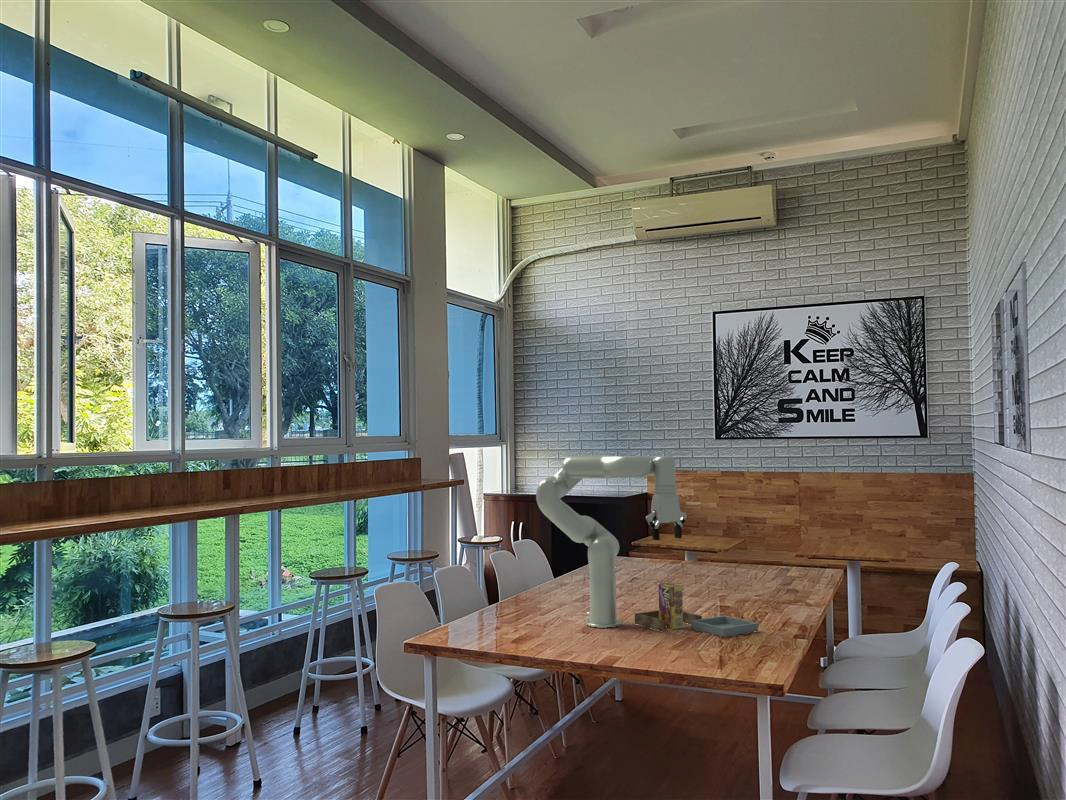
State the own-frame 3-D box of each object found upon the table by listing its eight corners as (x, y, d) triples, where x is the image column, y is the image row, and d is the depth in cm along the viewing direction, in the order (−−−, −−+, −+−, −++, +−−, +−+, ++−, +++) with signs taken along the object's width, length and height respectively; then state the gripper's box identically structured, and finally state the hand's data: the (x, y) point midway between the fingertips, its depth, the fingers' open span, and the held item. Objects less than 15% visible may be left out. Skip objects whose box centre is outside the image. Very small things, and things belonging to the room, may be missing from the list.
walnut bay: (634, 624, 293) (634, 613, 294) (671, 619, 302) (671, 608, 302) (664, 633, 279) (664, 621, 279) (701, 627, 288) (701, 615, 288)
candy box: (684, 628, 286) (683, 584, 287) (674, 629, 284) (673, 585, 285) (668, 624, 294) (667, 581, 295) (658, 625, 292) (657, 582, 293)
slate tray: (690, 629, 284) (690, 620, 285) (725, 623, 293) (724, 615, 293) (723, 637, 271) (723, 628, 271) (758, 631, 279) (757, 623, 279)
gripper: (678, 489, 298) (680, 536, 296) (639, 491, 290) (641, 540, 288) (691, 489, 291) (693, 538, 290) (651, 492, 283) (653, 541, 282)
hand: (667, 539), depth 289 cm, fingers open, 9 cm apart
